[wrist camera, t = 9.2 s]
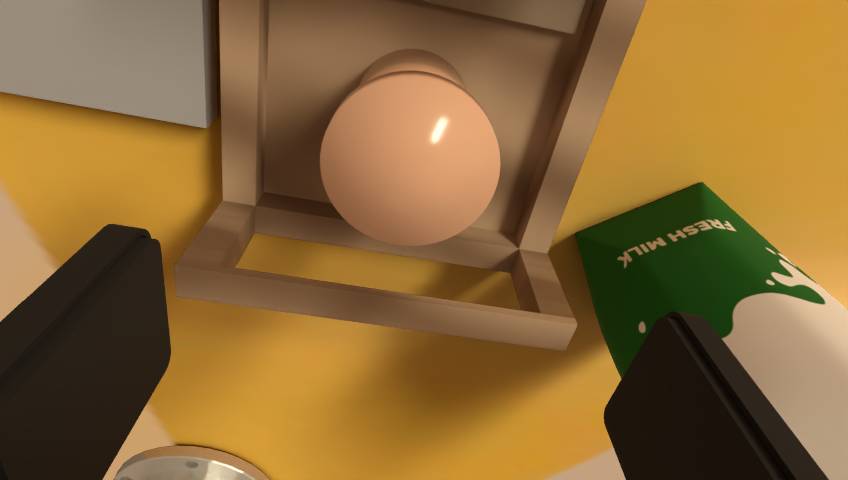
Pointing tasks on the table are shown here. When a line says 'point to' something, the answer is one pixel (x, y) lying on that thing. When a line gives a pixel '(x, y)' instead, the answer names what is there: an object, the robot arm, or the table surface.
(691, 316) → the robot arm
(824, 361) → the milk carton
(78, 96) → the trivet
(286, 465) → the table surface
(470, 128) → the peach rounded knob
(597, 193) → the table surface
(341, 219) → the wooden frame crate
